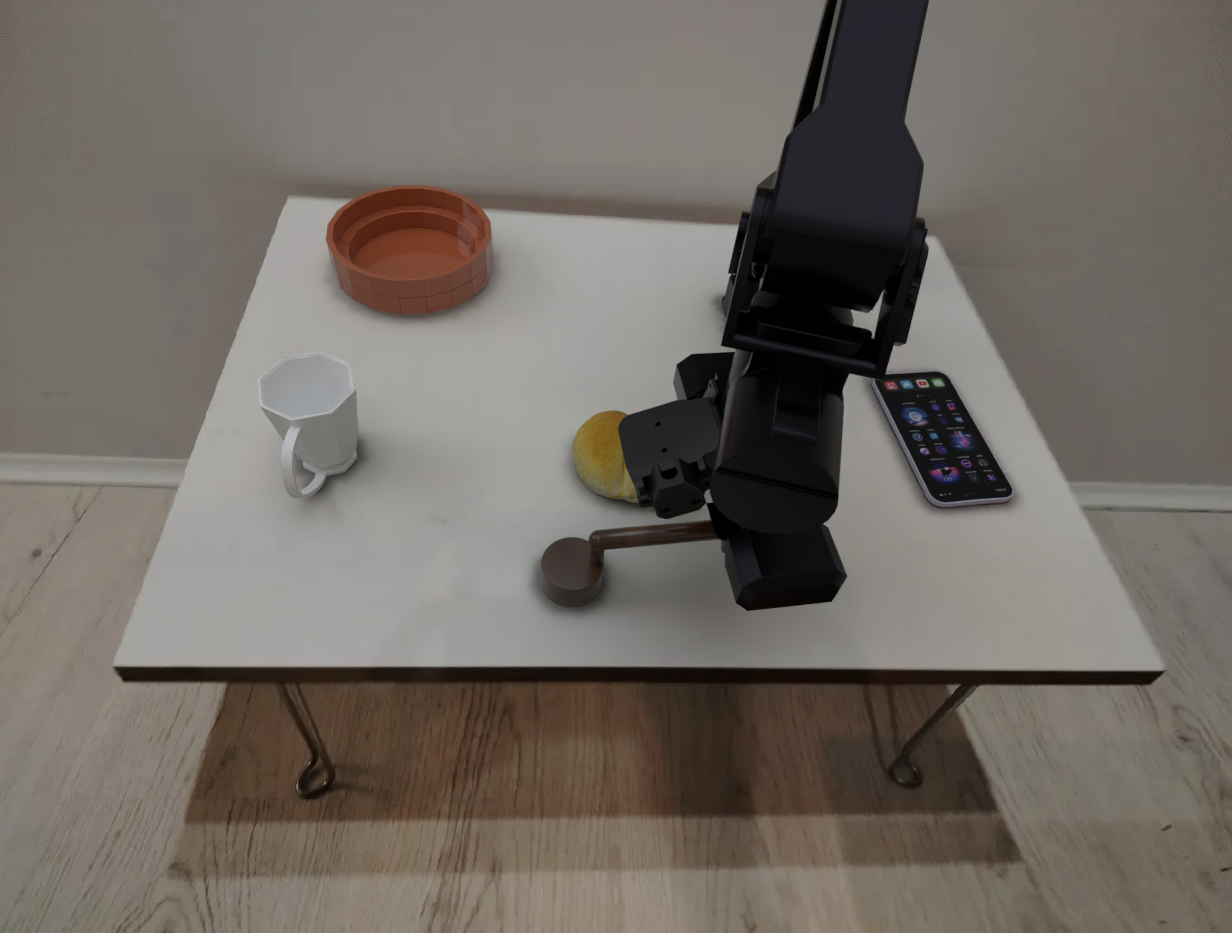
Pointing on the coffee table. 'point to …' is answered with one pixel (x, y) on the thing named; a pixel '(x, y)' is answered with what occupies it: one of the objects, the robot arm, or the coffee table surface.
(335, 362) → the cup
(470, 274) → the bowl
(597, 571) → the ladle
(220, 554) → the coffee table surface
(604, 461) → the bread roll
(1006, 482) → the smartphone
